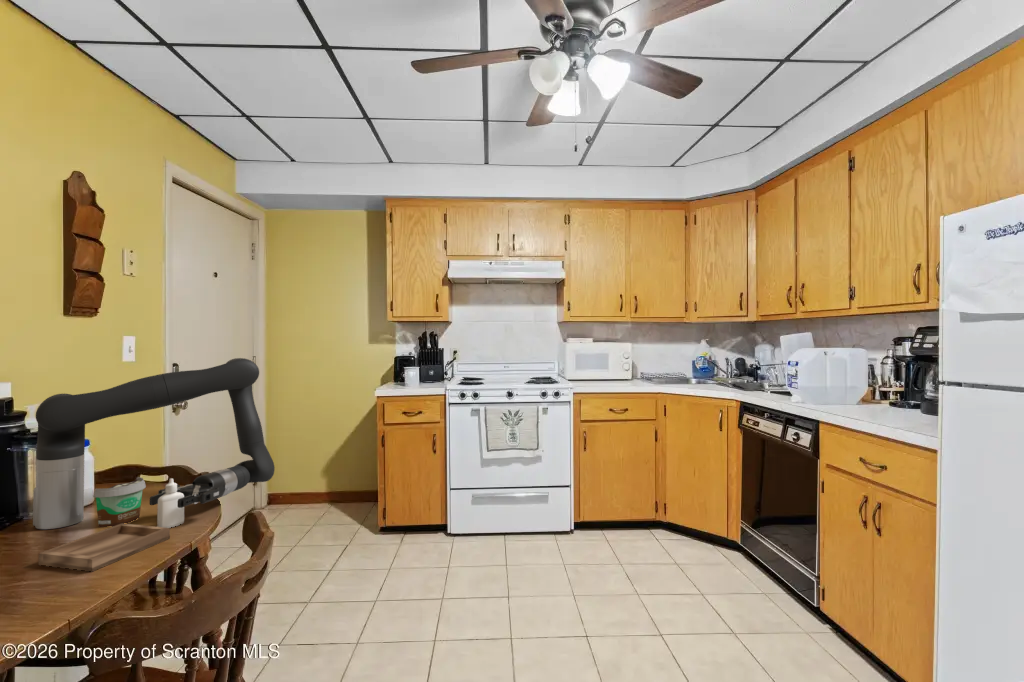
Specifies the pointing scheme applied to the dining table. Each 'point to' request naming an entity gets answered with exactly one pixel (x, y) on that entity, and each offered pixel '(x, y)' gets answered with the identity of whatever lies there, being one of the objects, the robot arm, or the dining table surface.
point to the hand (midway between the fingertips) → (164, 502)
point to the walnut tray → (104, 547)
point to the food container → (119, 503)
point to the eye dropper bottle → (170, 507)
